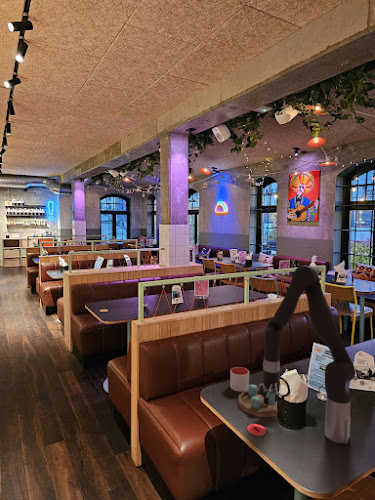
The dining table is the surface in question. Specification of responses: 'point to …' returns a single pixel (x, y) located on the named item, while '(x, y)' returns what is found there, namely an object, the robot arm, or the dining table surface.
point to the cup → (239, 379)
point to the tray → (248, 402)
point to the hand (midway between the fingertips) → (270, 402)
